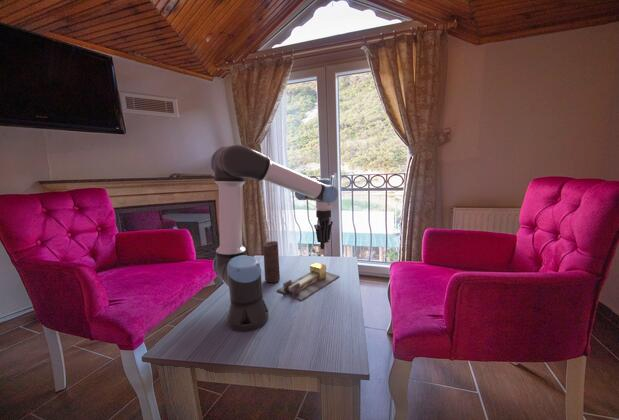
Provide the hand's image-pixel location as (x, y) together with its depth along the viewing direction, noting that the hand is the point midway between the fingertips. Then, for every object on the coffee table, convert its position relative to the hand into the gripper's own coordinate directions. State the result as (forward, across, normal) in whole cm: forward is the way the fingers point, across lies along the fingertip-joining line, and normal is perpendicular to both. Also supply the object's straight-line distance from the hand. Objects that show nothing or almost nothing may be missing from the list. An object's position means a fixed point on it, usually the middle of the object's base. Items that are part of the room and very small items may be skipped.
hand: (323, 254), depth 137 cm
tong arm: (+9, -16, -2) cm, 19 cm away
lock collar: (+11, -7, -2) cm, 13 cm away
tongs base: (+11, -14, -2) cm, 17 cm away
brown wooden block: (+11, -22, +15) cm, 29 cm away
